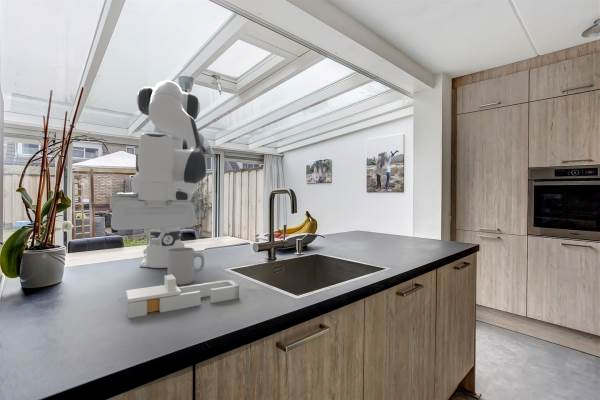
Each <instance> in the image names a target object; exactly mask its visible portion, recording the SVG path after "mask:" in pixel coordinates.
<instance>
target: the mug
mask: <svg viewBox="0 0 600 400" xmlns="http://www.w3.org/2000/svg"><path fill="white" fill-rule="evenodd" d="M196 258H200V261H201V262H200V263H201V264H200V266H199V267H195V259H196ZM204 267H205V257H204V255H203V253H201V252H196V251H195V248H193V247H181V248H172V249H169V250H168V267H167V275H173V276H174V277H175V278H176V285H177V286H185V285H190V284H191V283H193V282H194V281H195V273H200V272H202V271H203V269H204Z"/></svg>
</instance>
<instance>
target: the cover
mask: <svg viewBox="0 0 600 400" xmlns="http://www.w3.org/2000/svg"><path fill="white" fill-rule="evenodd" d="M163 283H164V284H163V285H161V284H160V285H155V286H147V287H142V288H141V287H139V288H134V289H127V290H126V291H125V294H126V299H127V303H128V302H135V301H141V300H147V299H154V298H160V297H166V296H173V295H179V294H181V290H180V289H179V288H178V287H179V285H176V278H175V277H174V276H173V275H168V274H167V275H166V274H164V282H163Z"/></svg>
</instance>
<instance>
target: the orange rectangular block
mask: <svg viewBox="0 0 600 400" xmlns="http://www.w3.org/2000/svg"><path fill="white" fill-rule="evenodd" d="M156 311H157V312H158V311H159V298H154V299H147V313H151V312H152V313H153V312H156Z"/></svg>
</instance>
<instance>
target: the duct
mask: <svg viewBox="0 0 600 400" xmlns="http://www.w3.org/2000/svg"><path fill="white" fill-rule="evenodd" d="M178 288H179V289H180V290H181V294H179V295H173V296H166V297H160V298H159V310H158V311H159V313H165V312H170V311H176V310H182V309H187V308H192V307H197V306H199V307H200V306H201V298H206V297H210V298H209V299H210V301H209V302H210V304H215V303H219V302H220V303H221V302H224V301H231V300H235V299H240V285H239V284H238V283H236V282H235V281H233V279H226V280H225V279H224V280H218V281H212V282H205V283H199V284H198V283H197V284H191V285H190V284H188V285H182V286H178ZM147 314H148V312H147V300H141V301H135V302H128V301H127V319H133V318H139V317H144V316H147Z"/></svg>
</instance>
